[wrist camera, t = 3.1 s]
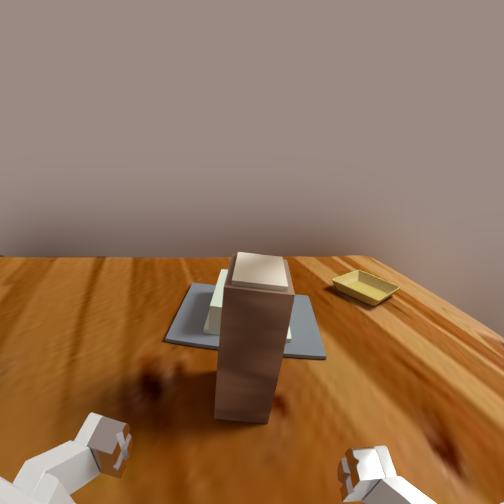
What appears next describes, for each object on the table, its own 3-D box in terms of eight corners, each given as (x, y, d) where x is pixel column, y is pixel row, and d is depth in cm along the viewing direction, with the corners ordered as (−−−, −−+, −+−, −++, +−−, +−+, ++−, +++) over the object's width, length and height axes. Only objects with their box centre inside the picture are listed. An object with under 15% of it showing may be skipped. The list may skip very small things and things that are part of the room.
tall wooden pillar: (266, 374, 26) (287, 256, 23) (267, 423, 21) (295, 290, 17) (222, 370, 26) (233, 249, 23) (214, 418, 21) (224, 282, 17)
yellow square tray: (375, 313, 41) (378, 300, 40) (327, 290, 47) (330, 278, 46) (398, 298, 46) (401, 287, 46) (355, 280, 52) (358, 269, 52)
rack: (284, 299, 41) (288, 276, 40) (290, 342, 31) (296, 315, 30) (215, 291, 40) (217, 268, 39) (203, 333, 31) (204, 304, 30)
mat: (307, 298, 43) (308, 295, 43) (325, 359, 29) (326, 356, 29) (192, 285, 42) (192, 282, 42) (165, 341, 29) (165, 338, 29)
